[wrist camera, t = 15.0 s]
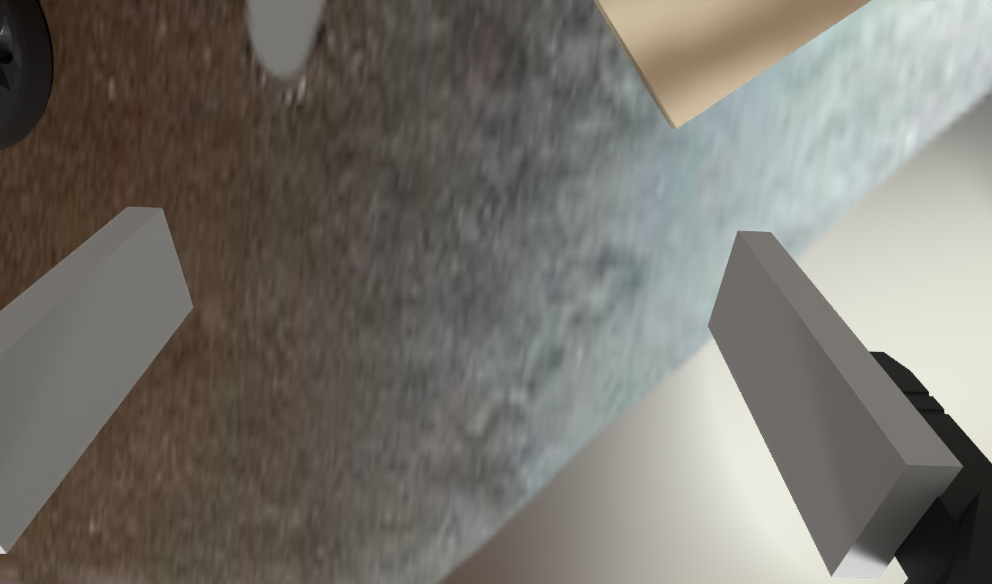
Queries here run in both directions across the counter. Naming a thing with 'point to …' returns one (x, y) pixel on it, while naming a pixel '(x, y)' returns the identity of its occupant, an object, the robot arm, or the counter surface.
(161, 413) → the counter surface
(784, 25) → the wooden tray
